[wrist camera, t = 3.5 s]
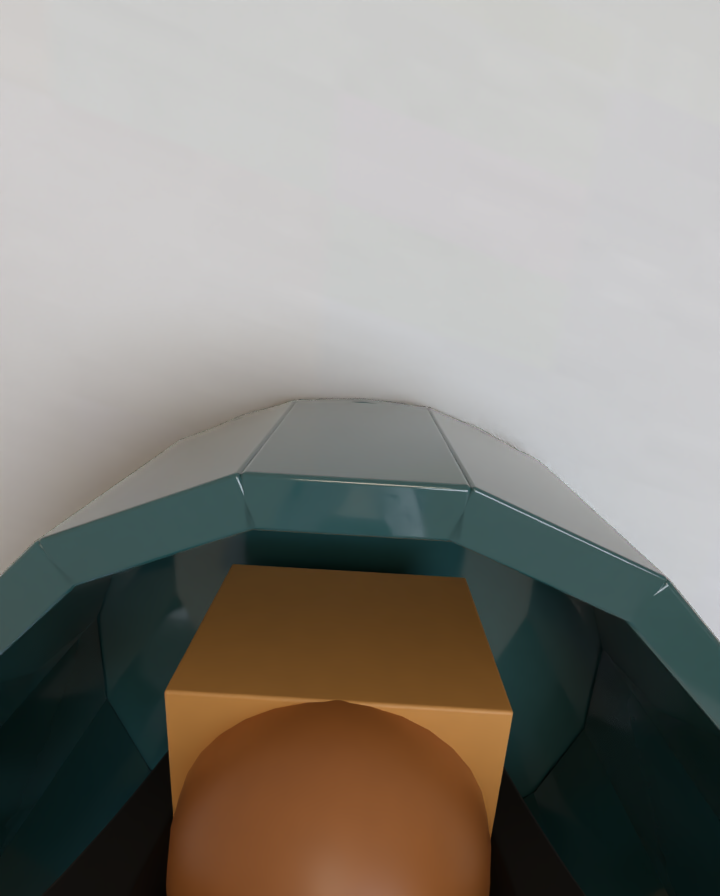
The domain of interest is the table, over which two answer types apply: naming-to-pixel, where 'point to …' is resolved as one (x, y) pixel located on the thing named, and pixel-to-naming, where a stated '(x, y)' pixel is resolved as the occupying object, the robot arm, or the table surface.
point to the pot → (382, 551)
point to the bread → (335, 738)
